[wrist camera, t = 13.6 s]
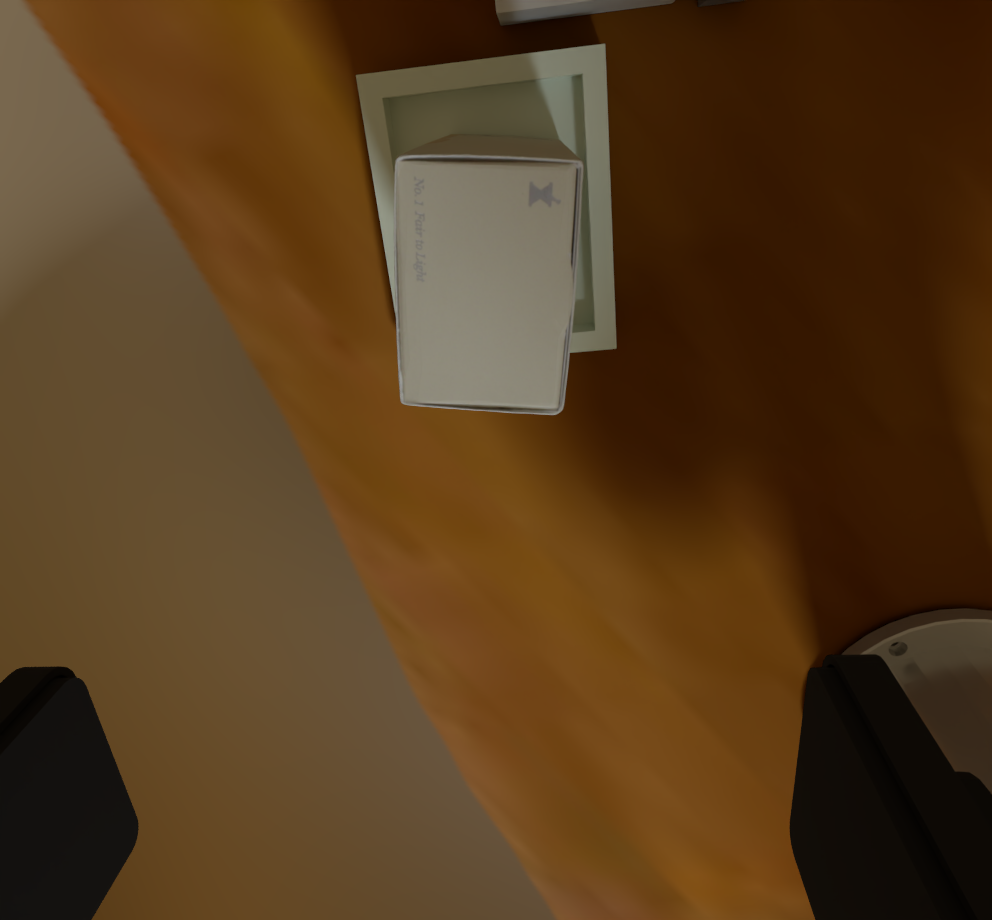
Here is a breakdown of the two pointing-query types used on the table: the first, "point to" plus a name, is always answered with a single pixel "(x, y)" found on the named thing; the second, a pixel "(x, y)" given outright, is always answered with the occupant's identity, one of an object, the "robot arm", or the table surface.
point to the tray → (511, 112)
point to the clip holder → (572, 8)
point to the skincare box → (486, 272)
